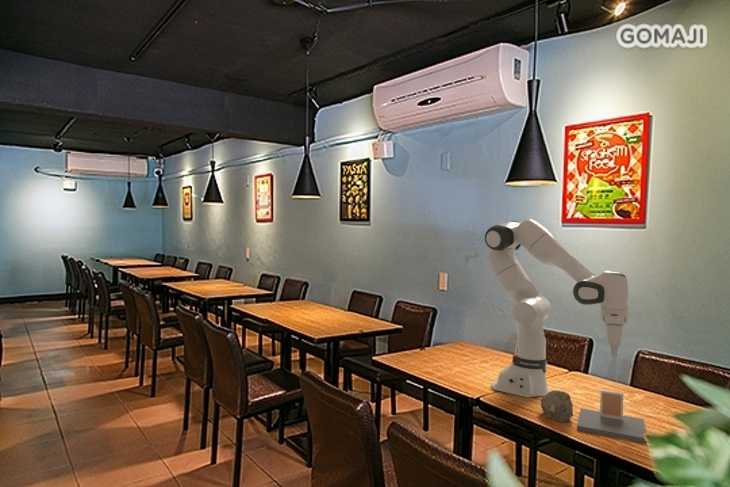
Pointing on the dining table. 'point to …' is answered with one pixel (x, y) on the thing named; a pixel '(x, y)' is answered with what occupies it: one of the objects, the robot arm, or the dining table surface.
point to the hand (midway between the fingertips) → (614, 353)
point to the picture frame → (611, 404)
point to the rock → (557, 405)
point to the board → (611, 426)
